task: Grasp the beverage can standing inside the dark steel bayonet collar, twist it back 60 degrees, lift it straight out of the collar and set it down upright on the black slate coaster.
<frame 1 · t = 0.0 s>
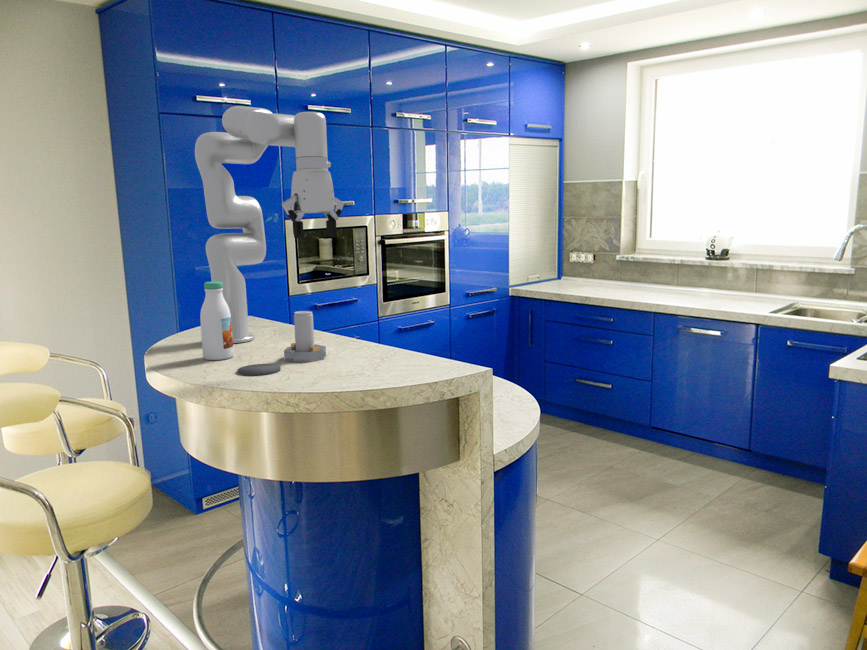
hand: (315, 237, 168), 31 cm above the countertop, fingers open, 9 cm apart
slate coaster: (259, 370, 164), on the countertop
milk bottle: (218, 358, 180), on the countertop
bayonet collar: (305, 357, 178), on the countertop
beverage can: (305, 358, 178), resting in bayonet collar
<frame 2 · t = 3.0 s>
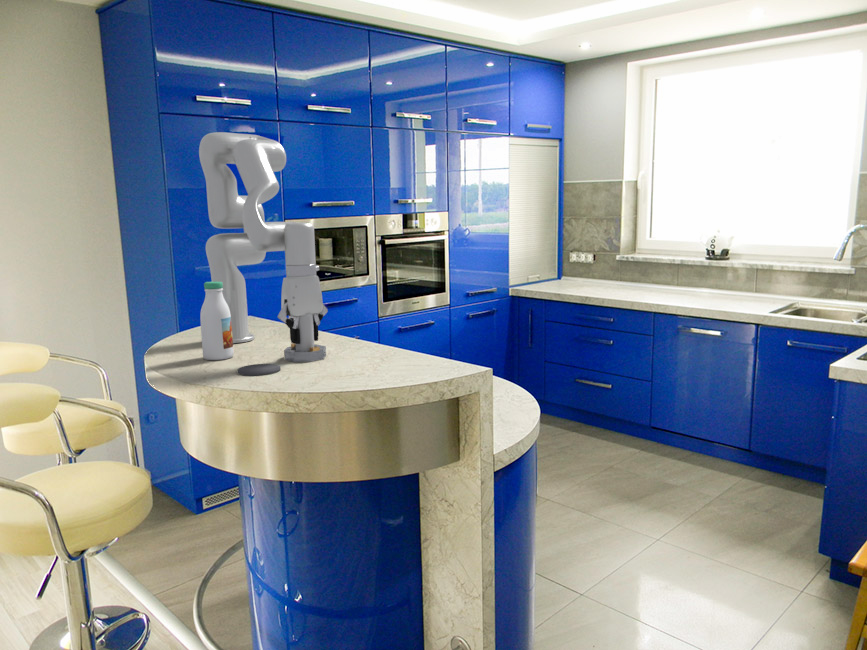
hand: (304, 341, 177), 4 cm above the countertop, fingers closed on beverage can, 4 cm apart
beverage can: (305, 358, 178), resting in bayonet collar, touching gripper
everything else where it was.
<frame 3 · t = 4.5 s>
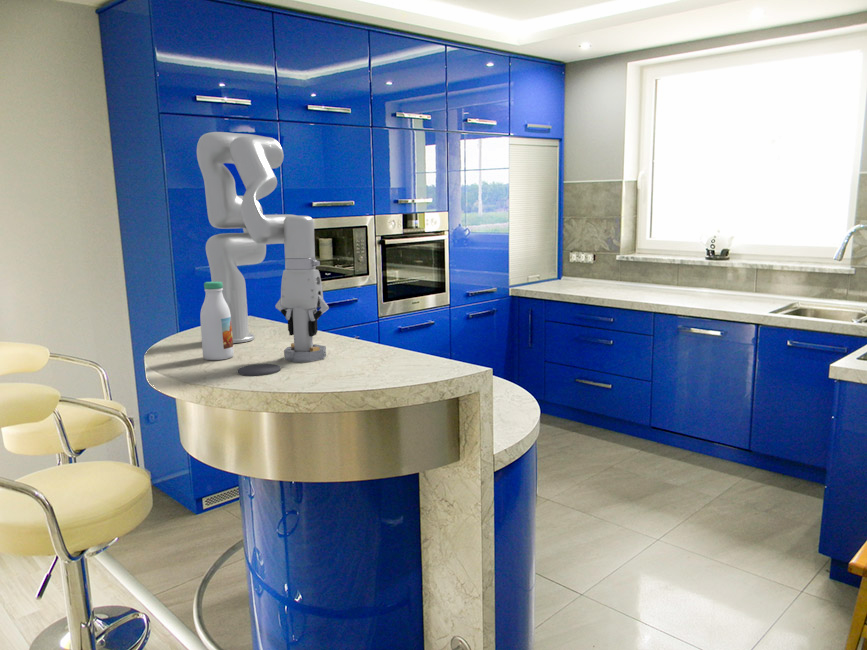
hand: (302, 334, 177), 6 cm above the countertop, fingers closed on beverage can, 4 cm apart
beverage can: (303, 351, 178), point 1 cm above the countertop, touching gripper
everything else where it was.
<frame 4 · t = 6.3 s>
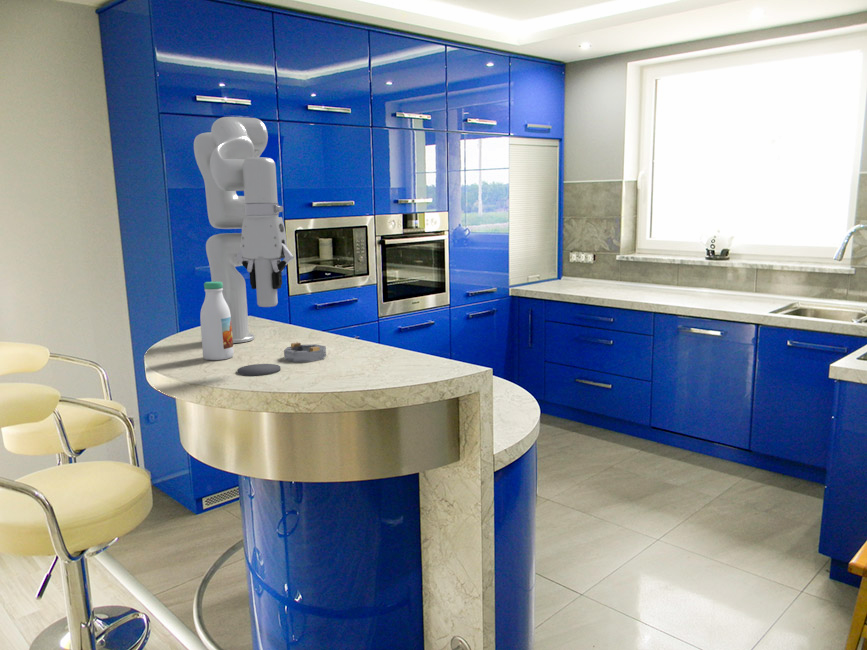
hand: (266, 287, 164), 20 cm above the countertop, fingers closed on beverage can, 4 cm apart
beverage can: (267, 306, 165), point 15 cm above the countertop, touching gripper
everything else where it was.
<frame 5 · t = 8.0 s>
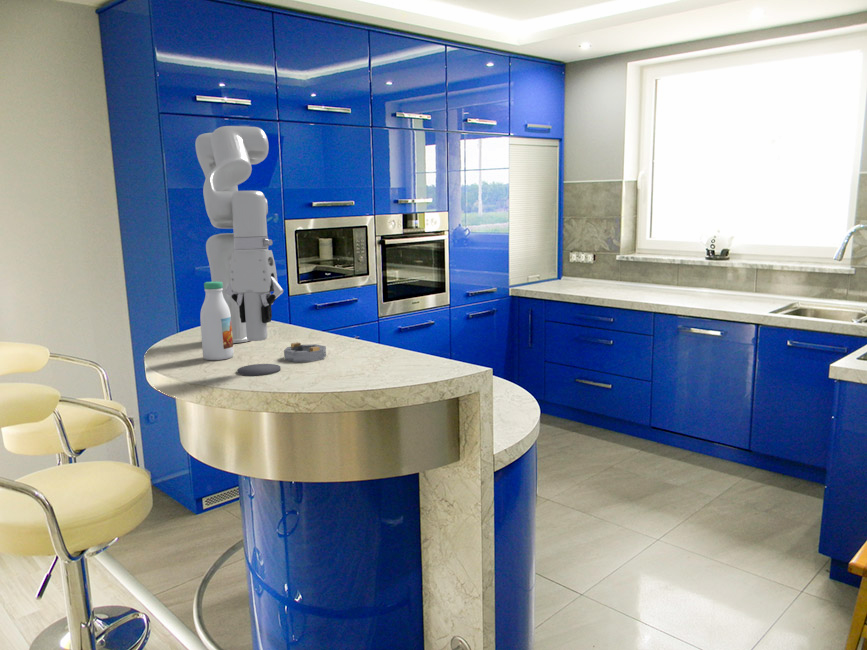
hand: (256, 321, 162), 12 cm above the countertop, fingers closed on beverage can, 4 cm apart
beverage can: (257, 340, 163), point 7 cm above the countertop, touching gripper
everything else where it was.
when the fingers open (6 cm above the countertop, at t = 9.5 s): beverage can stays where it is, resting on slate coaster.
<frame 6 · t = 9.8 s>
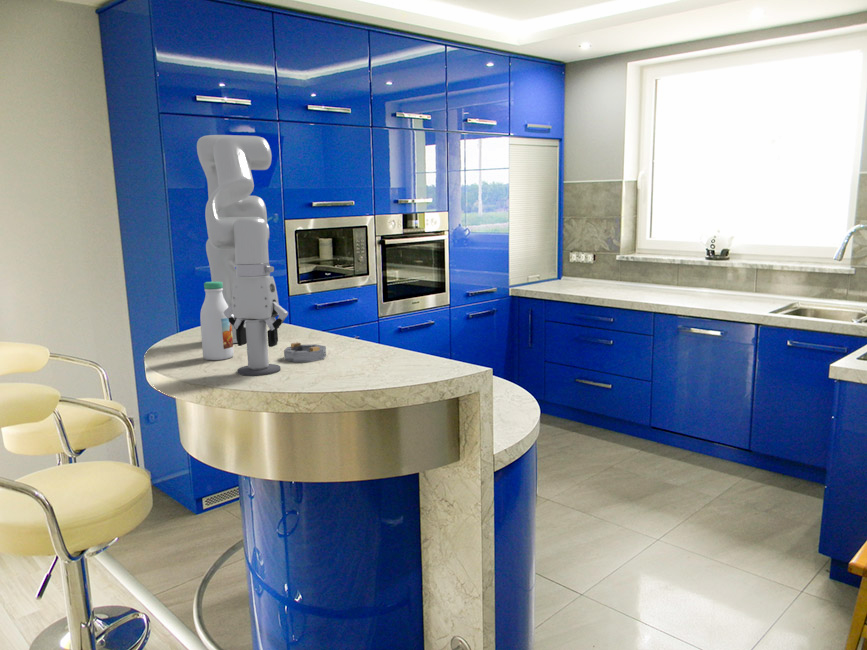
hand: (257, 344, 163), 6 cm above the countertop, fingers open, 7 cm apart
beverage can: (258, 369, 164), resting on slate coaster
everything else where it was.
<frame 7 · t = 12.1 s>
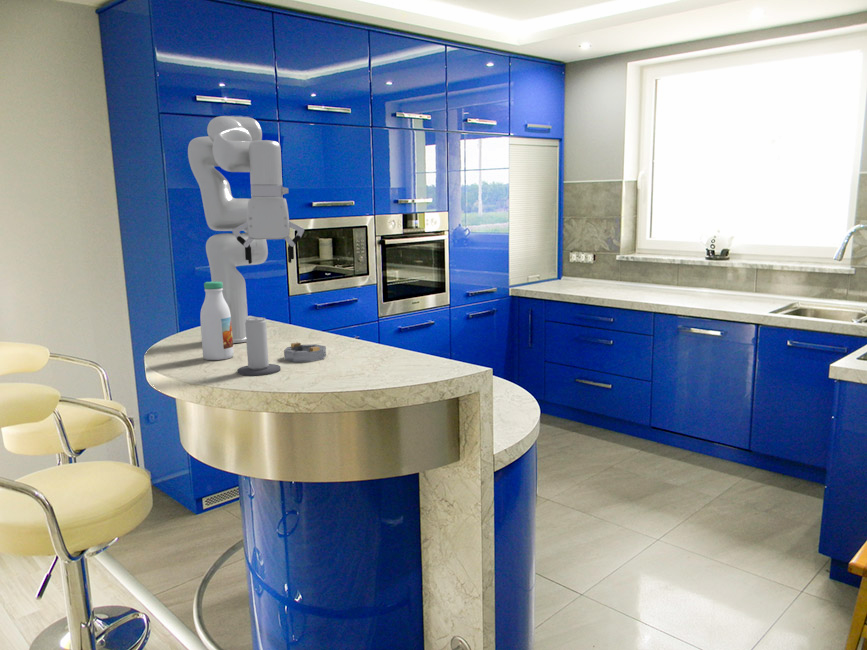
hand: (270, 262, 170), 25 cm above the countertop, fingers open, 9 cm apart
nothing on the countertop moved.
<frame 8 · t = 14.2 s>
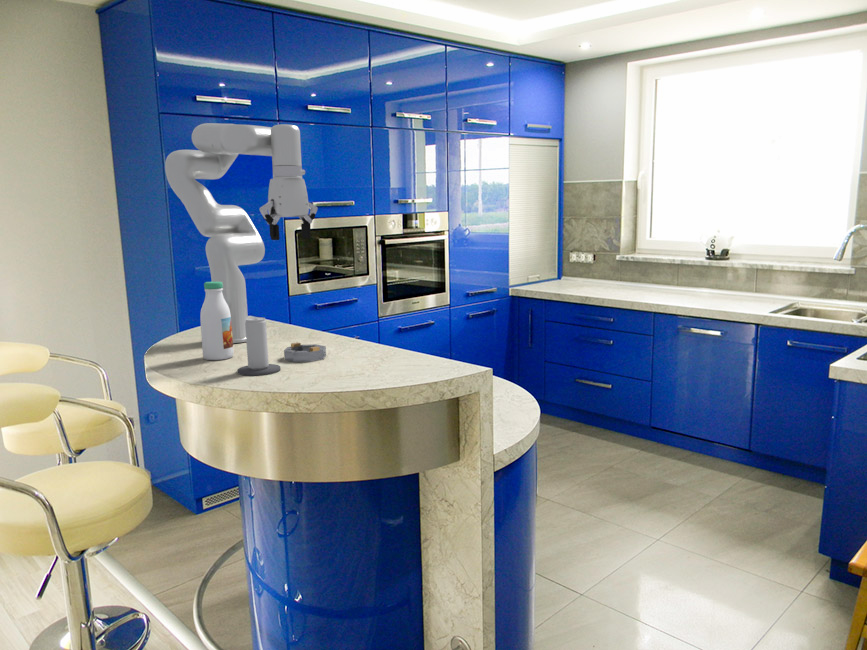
hand: (291, 239, 183), 30 cm above the countertop, fingers open, 9 cm apart
nothing on the countertop moved.
at the end: beverage can 0.2 cm from the slate coaster (horizontally); beverage can tilted 0°; the gripper is holding nothing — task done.
